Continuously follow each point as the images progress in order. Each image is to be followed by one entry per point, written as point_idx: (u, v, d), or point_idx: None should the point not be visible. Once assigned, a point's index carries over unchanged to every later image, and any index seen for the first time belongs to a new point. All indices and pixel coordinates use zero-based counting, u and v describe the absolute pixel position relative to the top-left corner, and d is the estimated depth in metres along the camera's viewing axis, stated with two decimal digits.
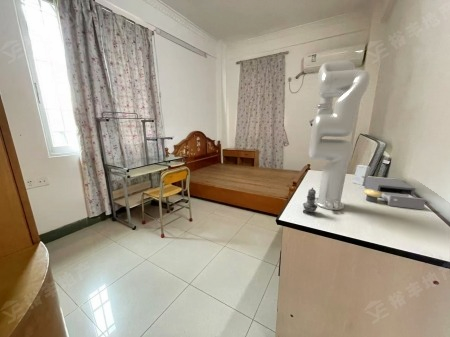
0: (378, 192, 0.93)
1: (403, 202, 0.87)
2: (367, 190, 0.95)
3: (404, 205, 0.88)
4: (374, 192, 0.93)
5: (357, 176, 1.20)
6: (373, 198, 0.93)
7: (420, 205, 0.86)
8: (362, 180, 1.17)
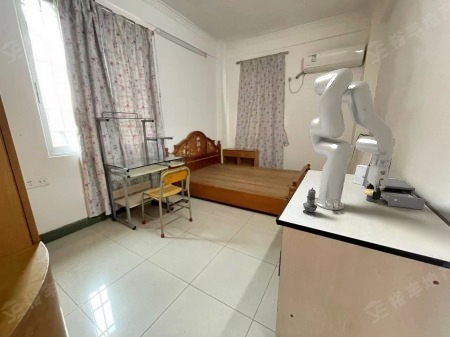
0: None
1: (403, 202, 0.87)
2: (367, 190, 0.95)
3: (404, 205, 0.88)
4: None
5: (357, 176, 1.20)
6: None
7: (420, 205, 0.86)
8: (362, 180, 1.17)
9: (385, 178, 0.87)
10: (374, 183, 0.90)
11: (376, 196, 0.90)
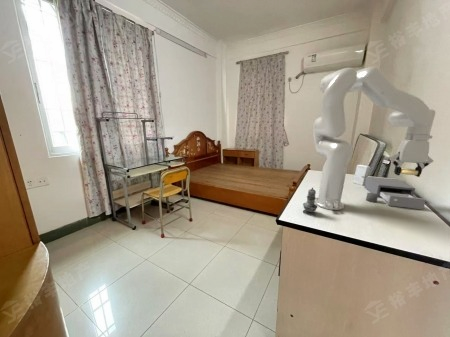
0: (407, 168, 0.90)
1: (403, 202, 0.87)
2: (409, 170, 0.86)
3: (404, 205, 0.88)
4: (412, 170, 0.88)
5: (357, 176, 1.20)
6: (373, 198, 0.93)
7: (420, 205, 0.86)
8: (362, 180, 1.17)
9: None
10: (424, 160, 0.84)
11: None
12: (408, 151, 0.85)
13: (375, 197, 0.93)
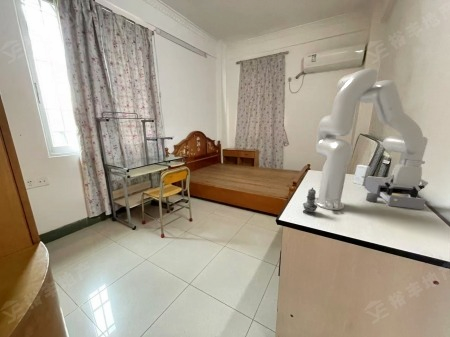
0: (400, 195, 0.93)
1: (403, 202, 0.87)
2: None
3: (404, 205, 0.88)
4: (404, 196, 0.91)
5: (357, 176, 1.20)
6: (373, 198, 0.93)
7: (420, 205, 0.86)
8: (362, 180, 1.17)
9: None
10: (417, 184, 0.87)
11: None
12: (401, 175, 0.88)
13: (375, 197, 0.93)
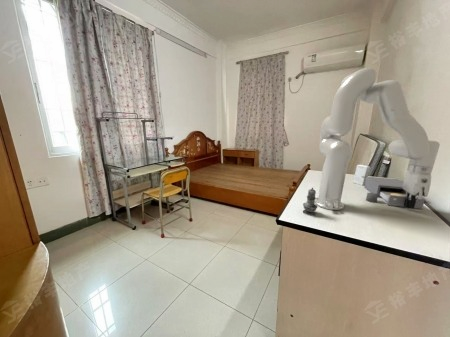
0: (399, 194, 0.94)
1: (402, 201, 0.88)
2: None
3: None
4: None
5: (357, 176, 1.20)
6: (373, 198, 0.93)
7: (419, 204, 0.86)
8: (362, 180, 1.17)
9: (427, 187, 0.78)
10: (413, 192, 0.80)
11: (410, 204, 0.84)
12: (405, 179, 0.86)
13: (375, 197, 0.93)
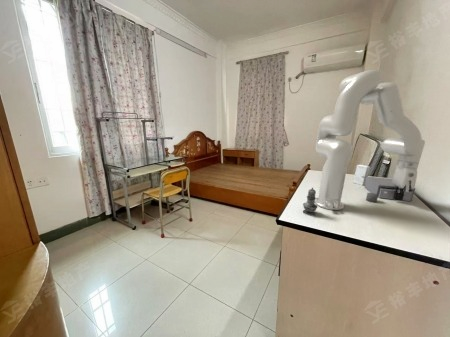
0: (390, 188, 1.02)
1: (392, 194, 0.96)
2: None
3: None
4: None
5: (357, 176, 1.20)
6: (373, 198, 0.93)
7: (407, 197, 0.94)
8: (362, 180, 1.17)
9: (413, 180, 0.86)
10: (401, 185, 0.89)
11: (399, 197, 0.92)
12: (395, 174, 0.94)
13: (375, 197, 0.93)
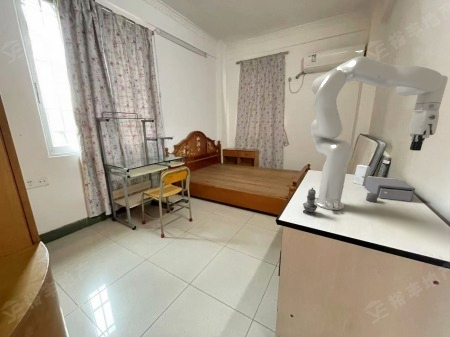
0: (390, 188, 1.02)
1: (392, 194, 0.96)
2: None
3: (393, 197, 0.96)
4: None
5: (357, 176, 1.20)
6: (373, 198, 0.93)
7: (408, 197, 0.94)
8: (362, 180, 1.17)
9: (435, 124, 0.76)
10: (420, 131, 0.79)
11: (417, 146, 0.82)
12: (411, 122, 0.84)
13: (375, 197, 0.93)
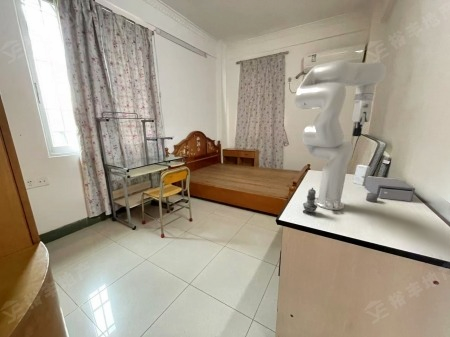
0: (390, 188, 1.02)
1: (392, 194, 0.96)
2: None
3: (393, 197, 0.96)
4: None
5: (357, 176, 1.20)
6: (373, 198, 0.93)
7: (408, 197, 0.94)
8: (362, 180, 1.17)
9: (368, 112, 0.88)
10: (357, 118, 0.90)
11: (357, 132, 0.94)
12: (353, 111, 0.96)
13: (375, 197, 0.93)
